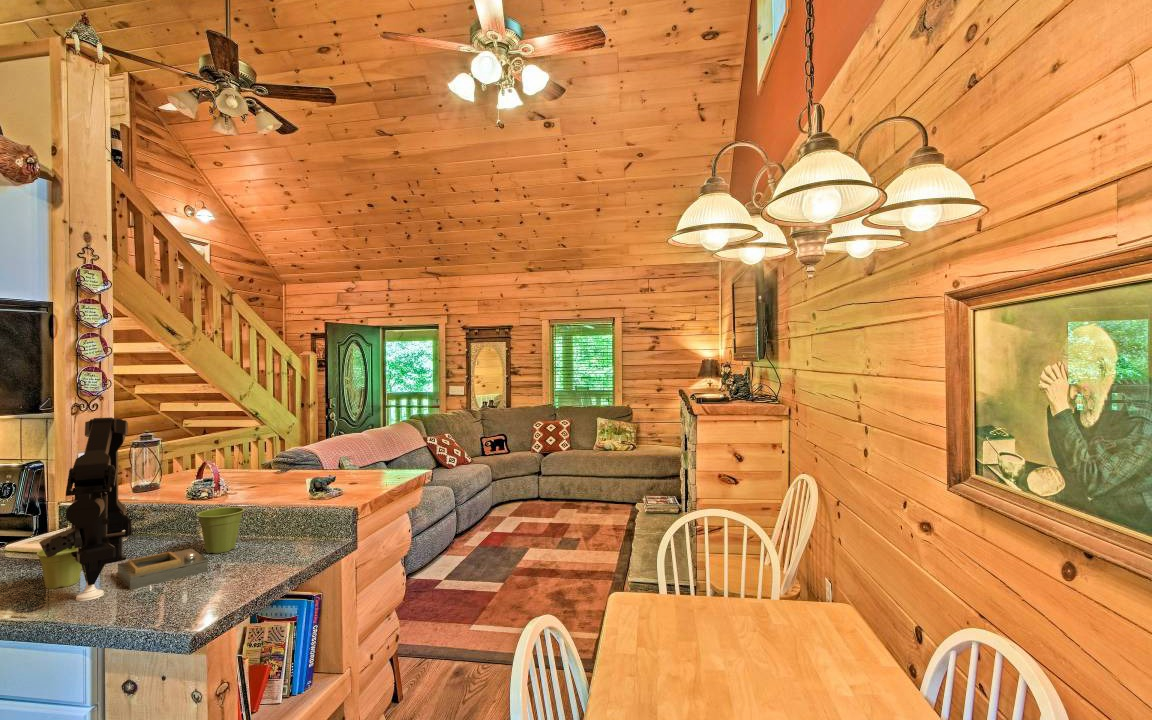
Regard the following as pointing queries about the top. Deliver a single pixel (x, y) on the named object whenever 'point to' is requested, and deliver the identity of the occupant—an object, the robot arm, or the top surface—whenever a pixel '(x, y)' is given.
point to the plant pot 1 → (60, 569)
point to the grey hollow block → (161, 568)
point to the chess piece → (89, 593)
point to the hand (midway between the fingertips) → (90, 583)
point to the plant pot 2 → (220, 528)
